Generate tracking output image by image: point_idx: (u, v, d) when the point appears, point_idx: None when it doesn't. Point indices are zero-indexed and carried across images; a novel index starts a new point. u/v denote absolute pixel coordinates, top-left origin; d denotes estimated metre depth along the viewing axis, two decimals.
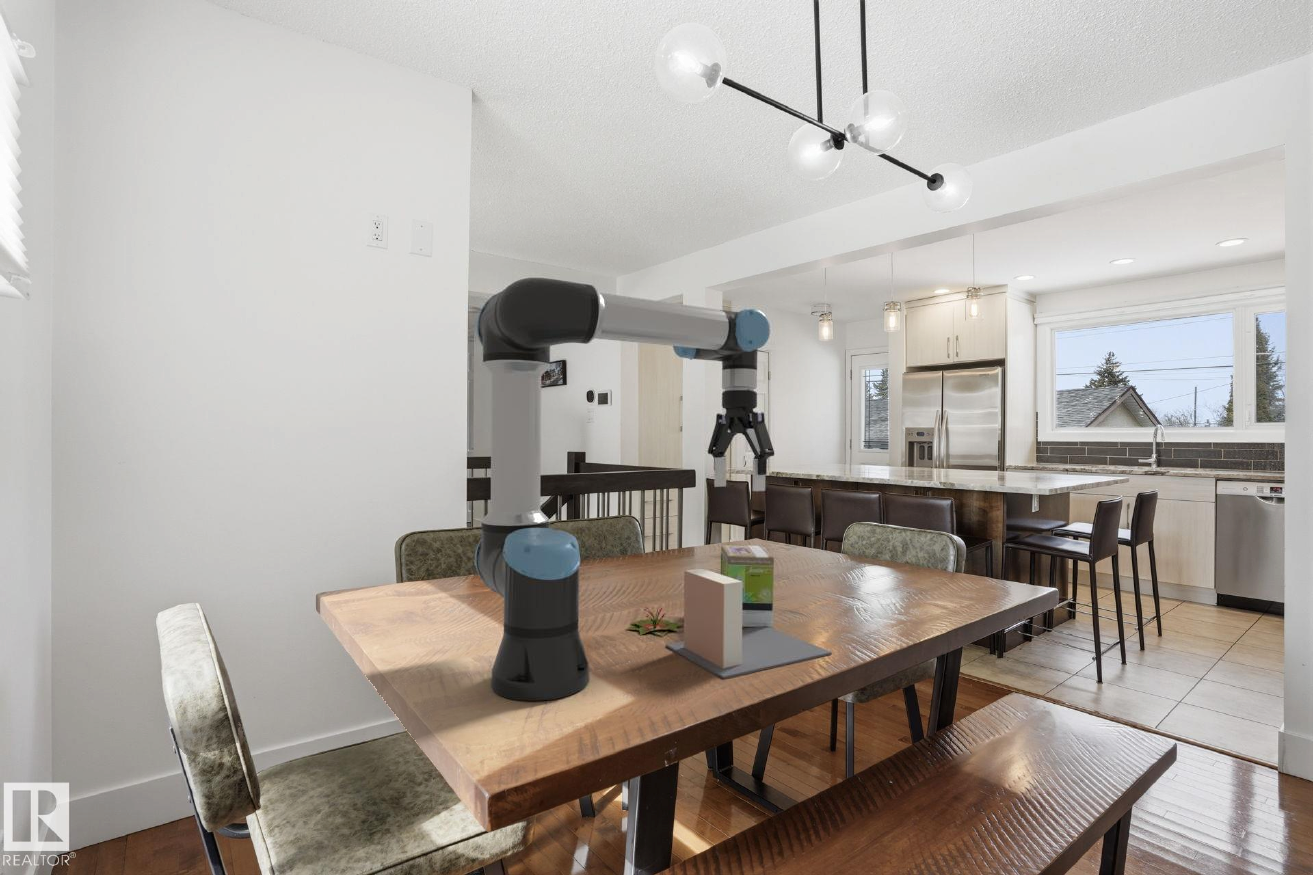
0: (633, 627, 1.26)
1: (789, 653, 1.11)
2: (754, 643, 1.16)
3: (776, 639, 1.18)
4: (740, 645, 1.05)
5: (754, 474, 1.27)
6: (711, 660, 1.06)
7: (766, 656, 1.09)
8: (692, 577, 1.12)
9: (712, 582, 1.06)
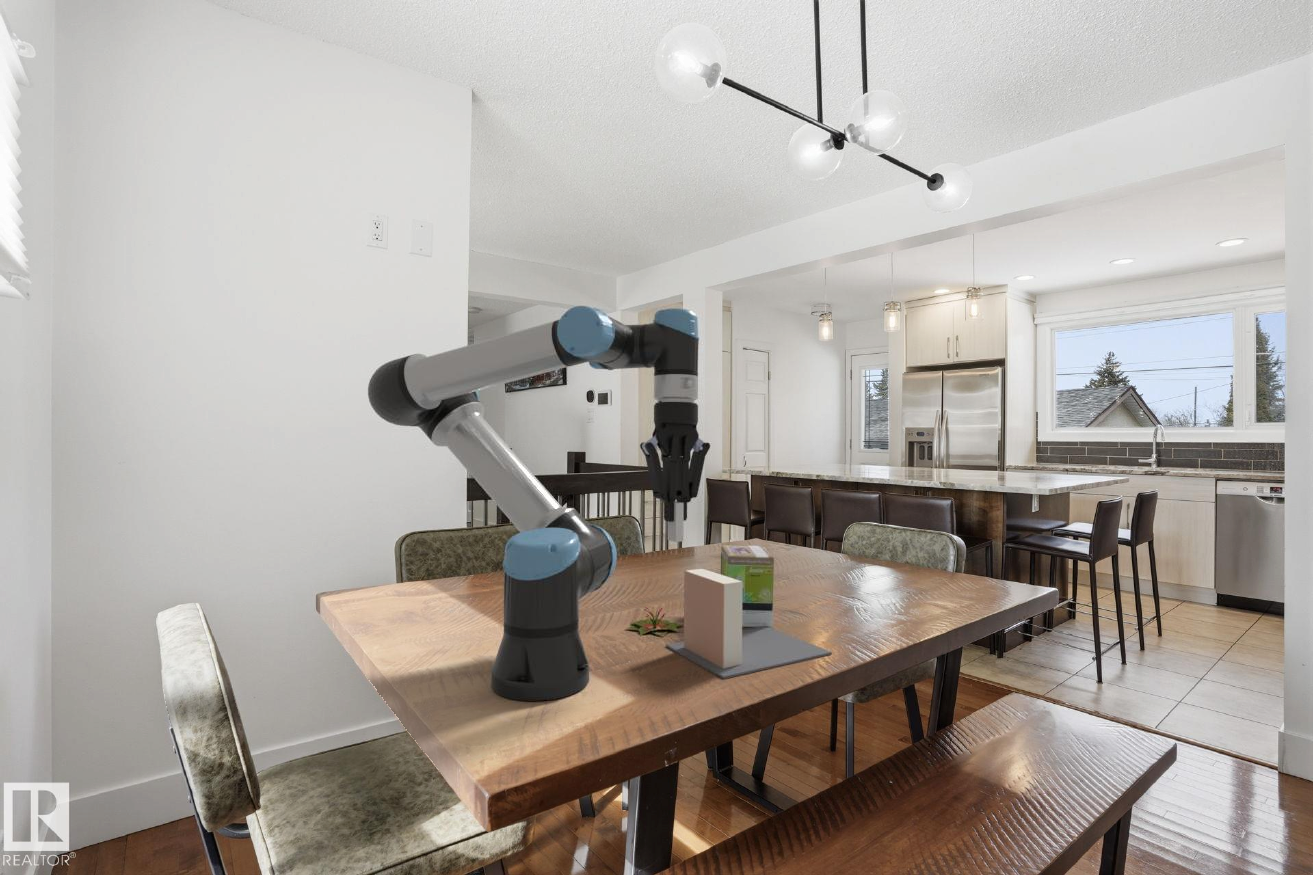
0: (633, 627, 1.26)
1: (789, 653, 1.11)
2: (754, 643, 1.16)
3: (776, 639, 1.18)
4: (740, 645, 1.05)
5: None
6: (711, 660, 1.06)
7: (766, 656, 1.09)
8: (692, 577, 1.12)
9: (712, 582, 1.06)
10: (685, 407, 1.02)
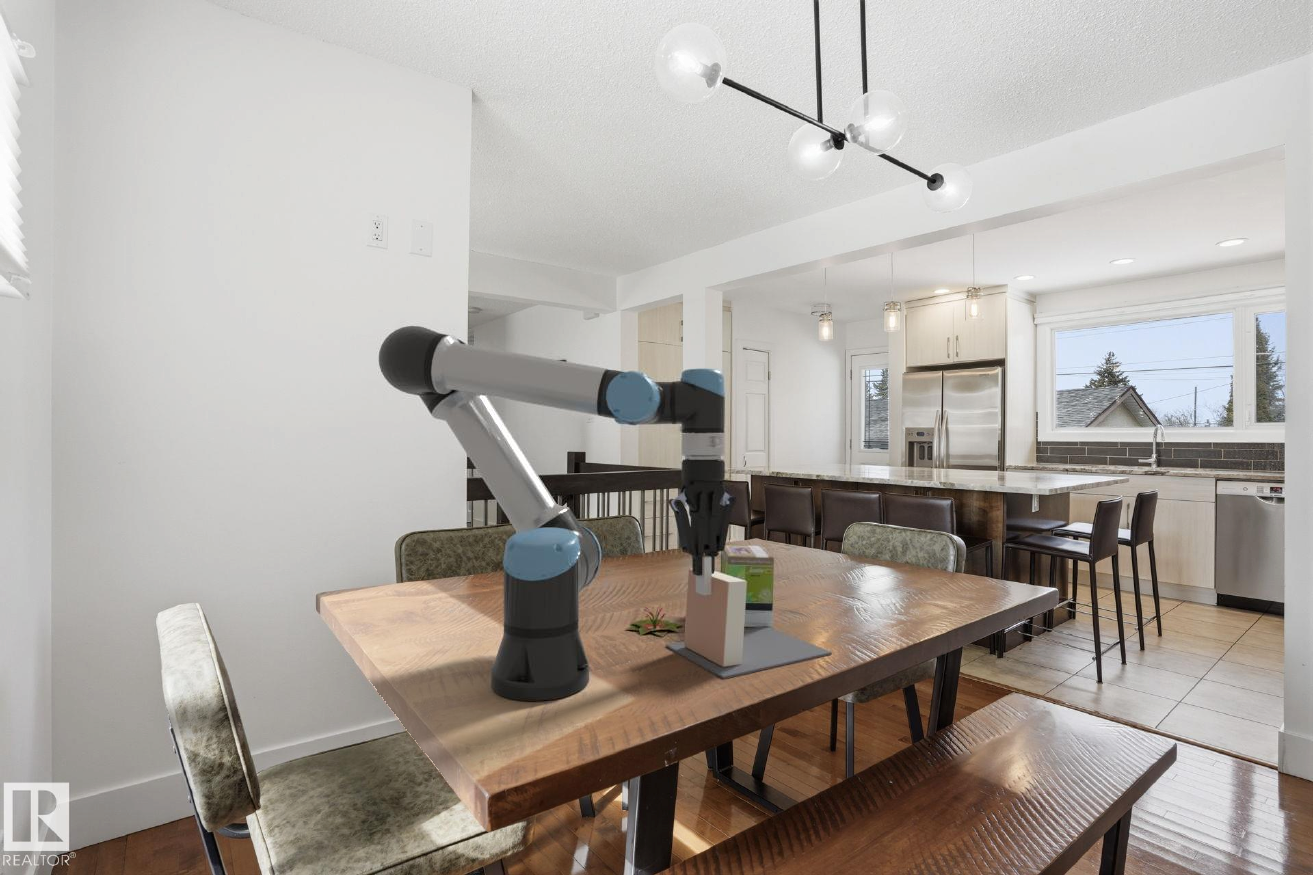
0: (633, 627, 1.26)
1: (789, 653, 1.11)
2: (754, 643, 1.16)
3: (776, 639, 1.18)
4: (741, 645, 1.05)
5: None
6: (711, 658, 1.06)
7: (766, 656, 1.09)
8: None
9: (717, 580, 1.06)
10: (713, 465, 1.05)
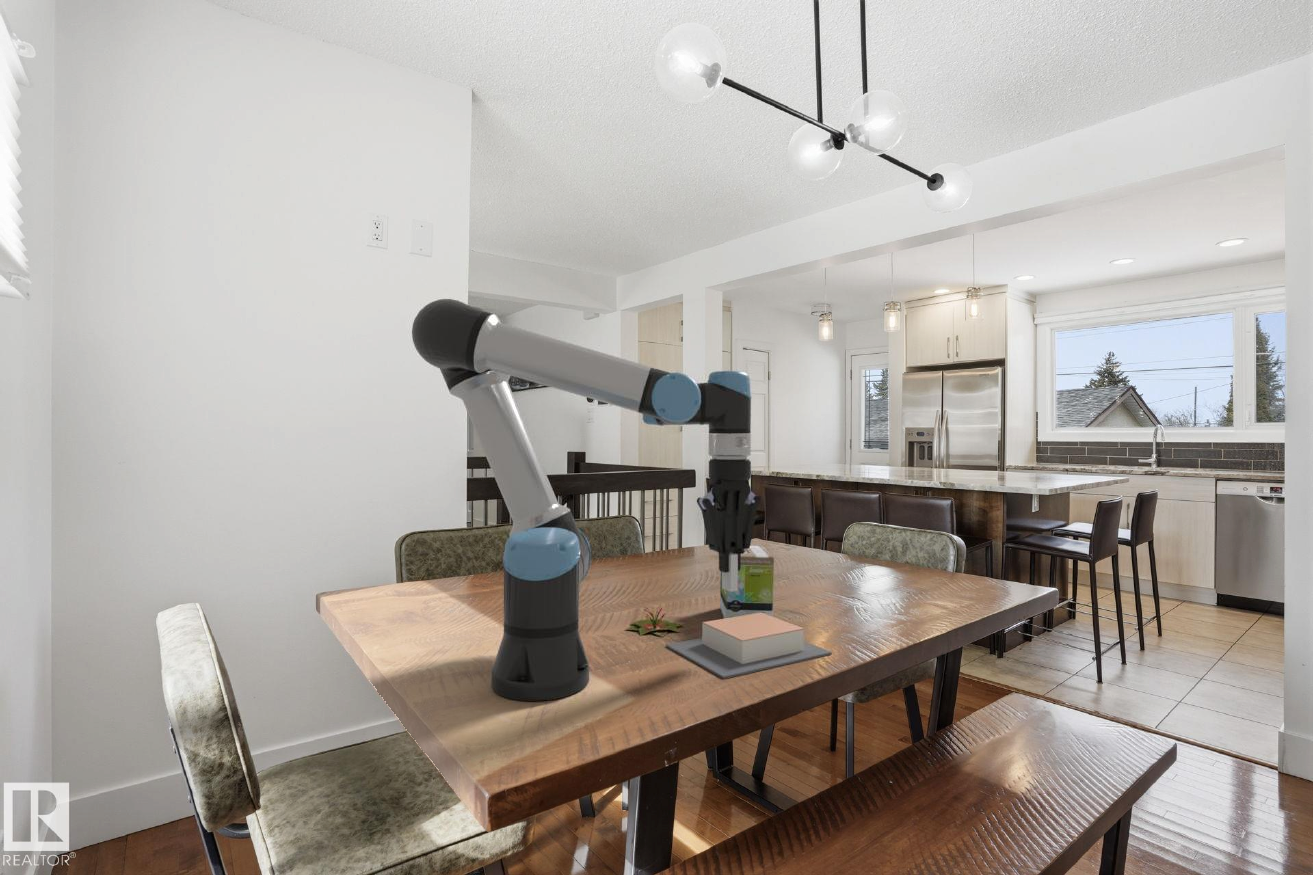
0: (633, 627, 1.26)
1: None
2: None
3: None
4: (757, 658, 1.07)
5: None
6: (732, 634, 1.08)
7: None
8: (766, 616, 1.20)
9: (791, 624, 1.15)
10: (740, 465, 1.08)
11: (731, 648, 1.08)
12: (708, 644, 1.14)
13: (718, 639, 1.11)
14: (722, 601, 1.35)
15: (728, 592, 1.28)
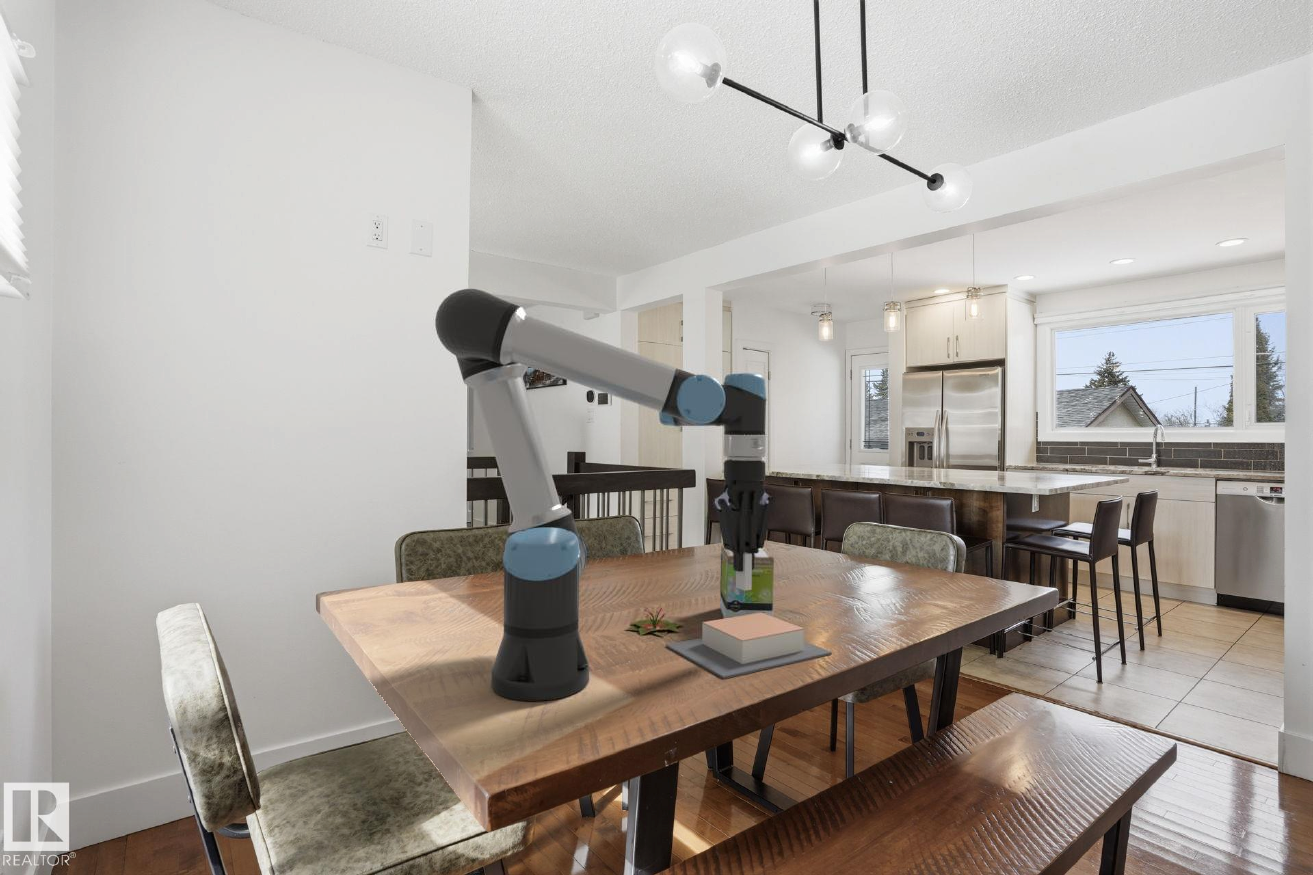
0: (633, 627, 1.26)
1: None
2: None
3: None
4: (757, 658, 1.07)
5: None
6: (732, 634, 1.08)
7: None
8: (766, 616, 1.20)
9: (791, 624, 1.15)
10: (755, 466, 1.10)
11: (731, 648, 1.08)
12: (708, 644, 1.14)
13: (718, 639, 1.11)
14: (722, 601, 1.35)
15: (728, 592, 1.28)
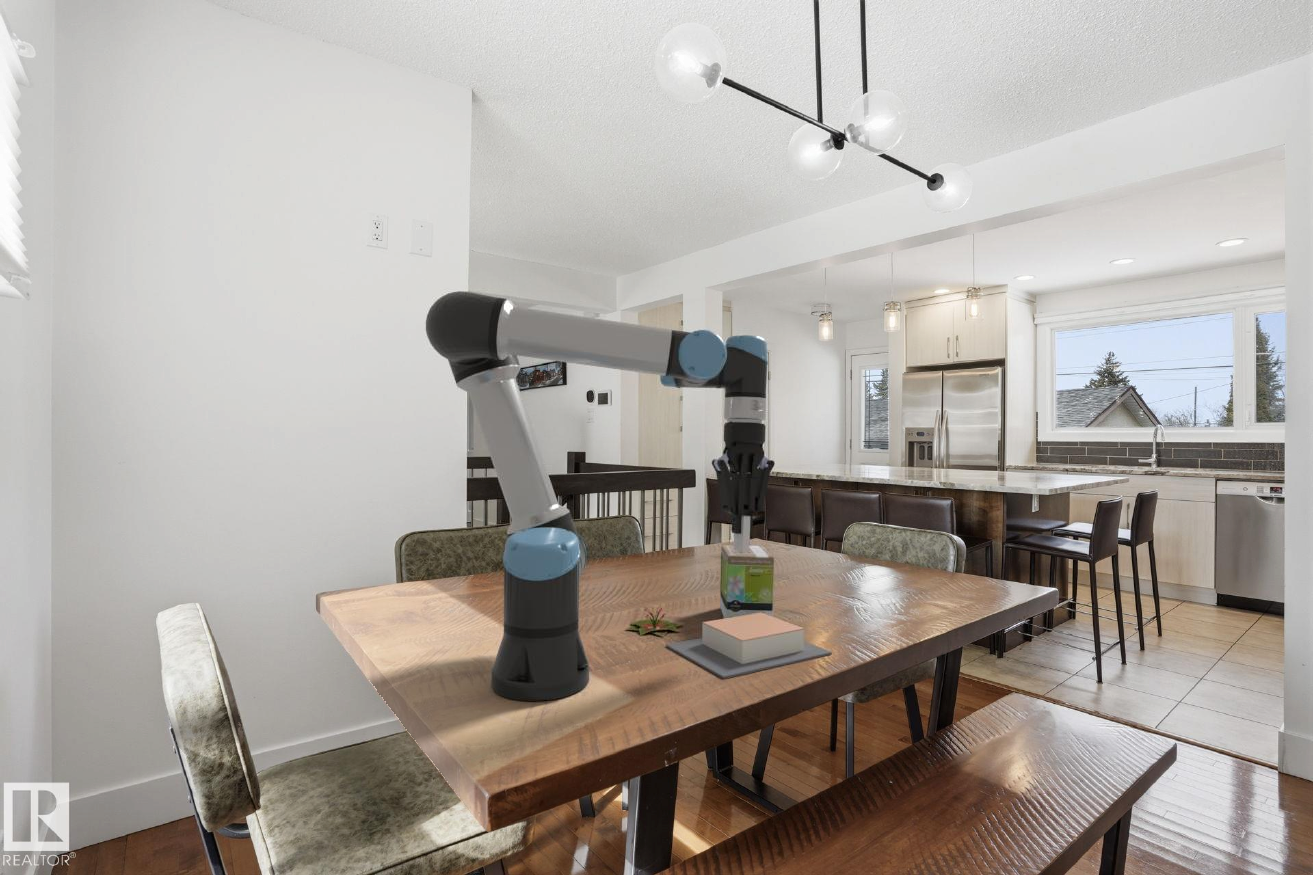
0: (633, 627, 1.26)
1: None
2: None
3: None
4: (757, 658, 1.07)
5: None
6: (732, 634, 1.08)
7: None
8: (766, 616, 1.20)
9: (791, 624, 1.15)
10: (755, 428, 1.10)
11: (731, 648, 1.08)
12: (708, 644, 1.14)
13: (718, 639, 1.11)
14: (722, 601, 1.35)
15: (728, 592, 1.28)
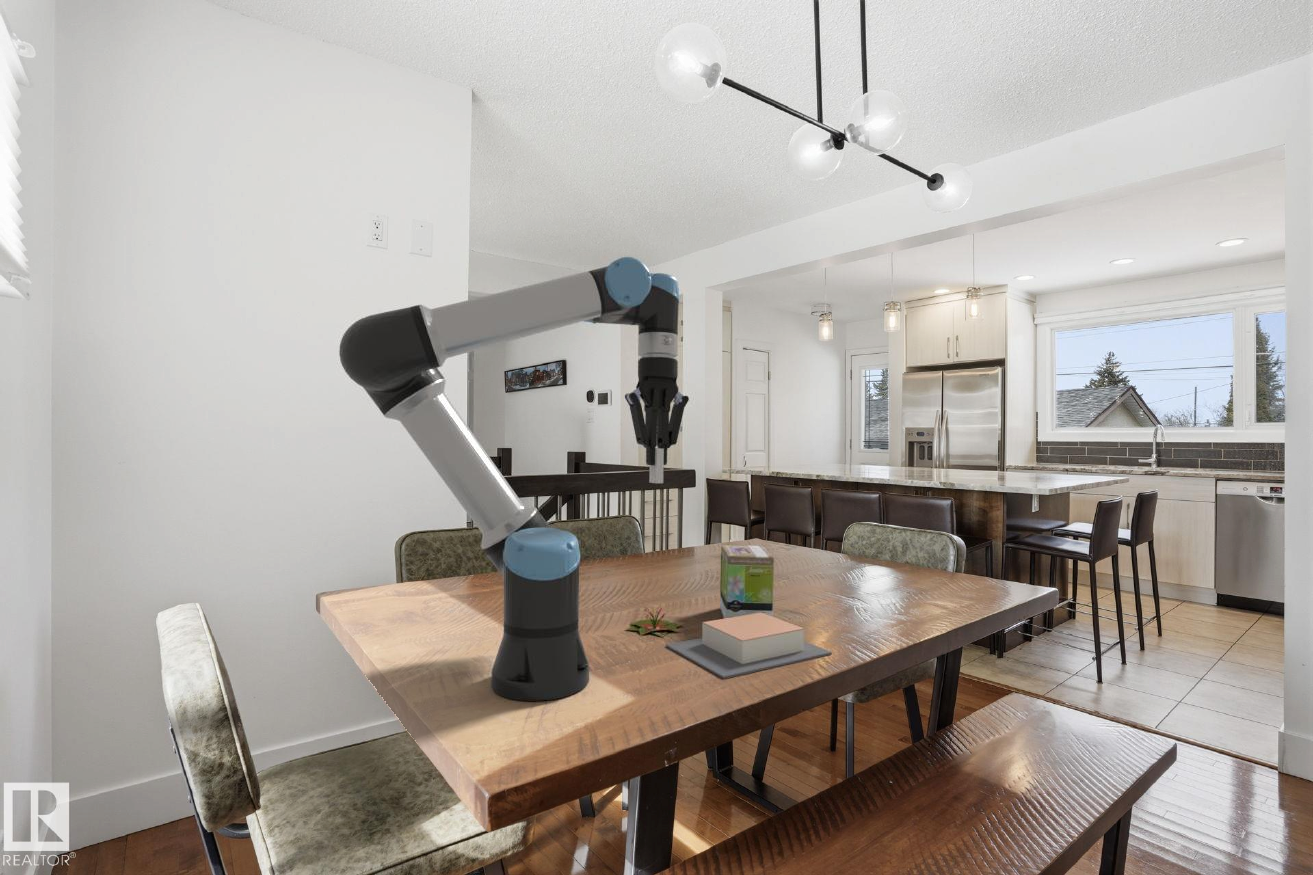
0: (633, 627, 1.26)
1: None
2: None
3: None
4: (757, 658, 1.07)
5: None
6: (732, 634, 1.08)
7: None
8: (766, 616, 1.20)
9: (791, 624, 1.15)
10: (665, 361, 1.14)
11: (731, 648, 1.08)
12: (708, 644, 1.14)
13: (718, 639, 1.11)
14: (722, 601, 1.35)
15: (728, 592, 1.28)
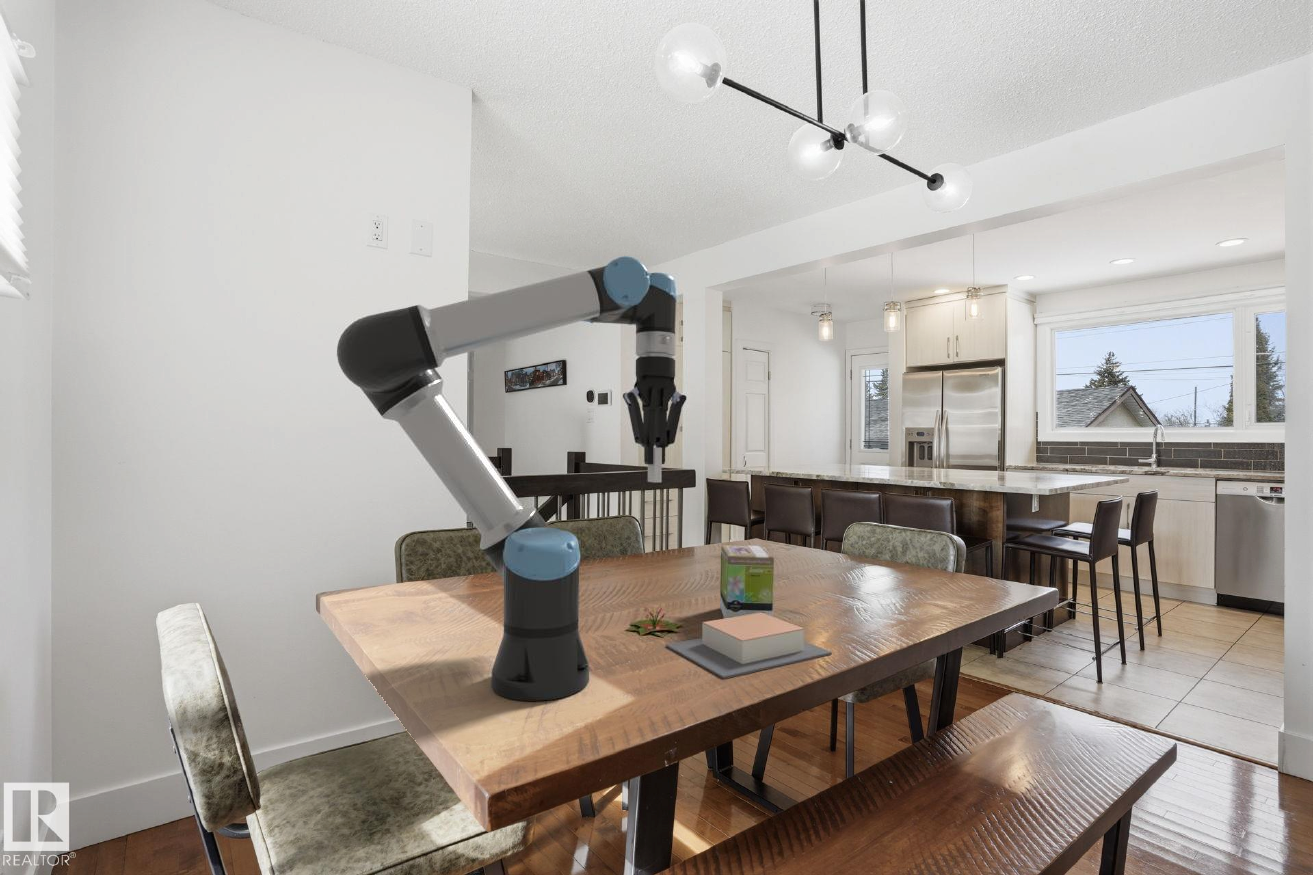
0: (633, 628, 1.26)
1: None
2: None
3: None
4: (757, 658, 1.07)
5: None
6: (732, 634, 1.08)
7: None
8: (766, 616, 1.20)
9: (791, 624, 1.15)
10: (663, 361, 1.14)
11: (731, 648, 1.08)
12: (708, 644, 1.14)
13: (718, 639, 1.11)
14: (722, 601, 1.35)
15: (728, 592, 1.28)
